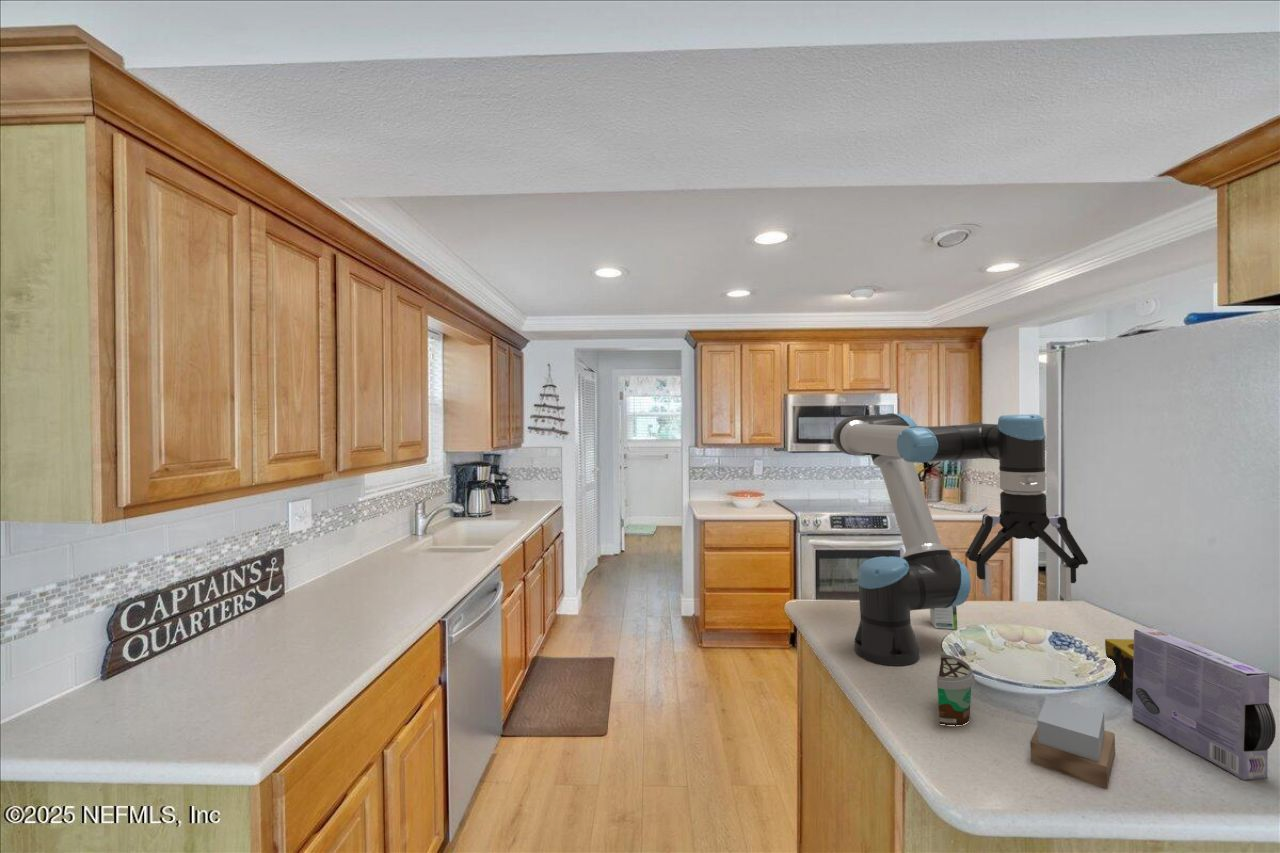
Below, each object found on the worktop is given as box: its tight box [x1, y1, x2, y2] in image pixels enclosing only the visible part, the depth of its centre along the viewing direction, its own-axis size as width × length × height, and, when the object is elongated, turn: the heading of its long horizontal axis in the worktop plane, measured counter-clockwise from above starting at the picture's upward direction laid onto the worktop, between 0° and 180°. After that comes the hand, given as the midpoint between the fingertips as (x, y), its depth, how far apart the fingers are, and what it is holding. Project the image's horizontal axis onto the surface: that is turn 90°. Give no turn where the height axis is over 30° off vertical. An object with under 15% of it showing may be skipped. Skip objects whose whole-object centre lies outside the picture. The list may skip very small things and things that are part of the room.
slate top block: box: [1036, 695, 1106, 762], centre depth 93 cm, size 8×10×4 cm
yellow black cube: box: [1104, 638, 1134, 703], centre depth 111 cm, size 10×10×10 cm
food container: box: [936, 652, 976, 726], centre depth 107 cm, size 12×6×10 cm, turn 148°
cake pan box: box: [1131, 627, 1277, 781], centre depth 94 cm, size 19×5×18 cm, turn 5°
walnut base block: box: [1029, 727, 1116, 789], centre depth 93 cm, size 10×12×4 cm
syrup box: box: [929, 606, 958, 630], centre depth 152 cm, size 6×6×14 cm
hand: (1025, 596), depth 108 cm, fingers open, 13 cm apart
